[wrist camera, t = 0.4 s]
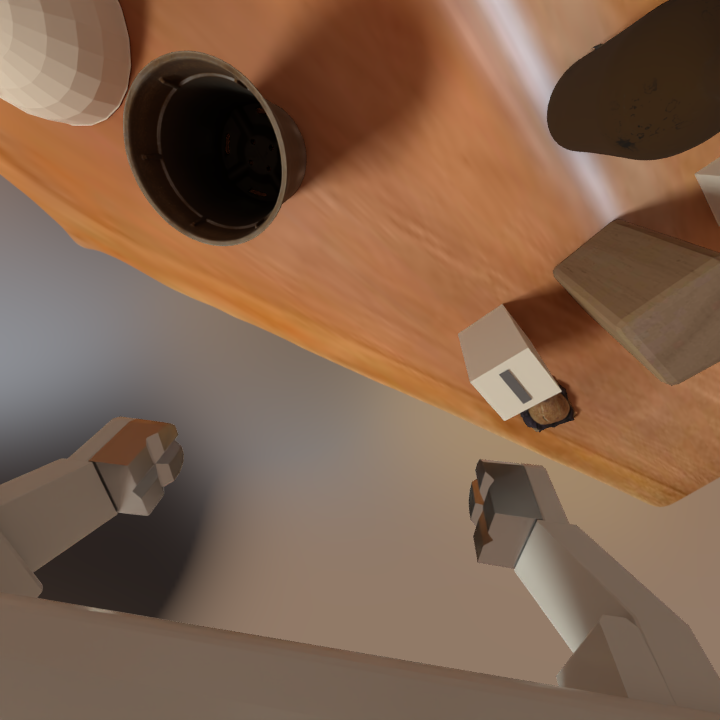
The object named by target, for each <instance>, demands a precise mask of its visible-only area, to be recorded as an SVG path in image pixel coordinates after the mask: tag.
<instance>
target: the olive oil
mask: <svg viewBox="0 0 720 720" xmlns="http://www.w3.org/2000/svg"><path fill="white" fill-rule="evenodd" d="M594 47H595V50H594V51H592V52H591V53H589V54H588V55H586V56H584V57H583V58H581V59H580V60H578V61H577V62H576V63H574V64H573V65H572V66H571V67H570V68H569V69H568V70H567V71H566V72H565V73H564V74H563V76H562V77H561V78H560V80H559V81H558V83H557V84H556V86H555V88H554V90H553V92H552V95H551V97H550V101H549V104H548V110H547V122H548V128H549V131H550V133H551V135H552V137H553V139H554V140H555V141H556V142H557V143H558V144H559V145H560V146H562V147H564V148H566V149H568V150H572V151H579V152H590V153H598V154H604V155H611V156H617V157H623V158H628V159H635V160H656V159H662V158H667V157H670V156H674V155H677V154H679V153H682V152H684V151H687V150H689V149H691V148H693V147H695V146H697V145H699V144H701V143H703V142H705V141H706V140H708V139H710V138H711V137H713V136H714V135H716V134H717V133H719V132H720V0H669V1H667V2H665V3H663V4H661V5H660V6H658V7H657V8H655V9H654V10H652V11H651V12H649V13H648V14H646V15H645V16H644V17H642V18H641V19H639V20H638V21H636V22H635V23H634V24H632V25H631V26H629V27H628V28H626V29H625V30H624V31H622V32H621V33H619V34H618V35H616V36H615V37H613V38H612V39H610V40H609V41H607V42H606V43H604V44H599V45H597V46H594ZM594 47H593V48H594Z"/></svg>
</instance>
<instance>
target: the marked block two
mask: <svg viewBox="0 0 720 720" xmlns="http://www.w3.org/2000/svg"><path fill="white" fill-rule="evenodd" d="M695 176H696V178H697V181H698V183H699V185H700V187H701V189H702V191H703V193H704V196H705V198H706V200H707V202H708V204H709V206H710V208H711V210H712V213H713V215H714V217H715V219H716V221H717V223H718V225H719V226H720V157H719V158H717V159H716V160H714V161H713V162H711V163H710V164H708V165H707V166H706V167H704V168H703V169H701V170H700V171H698V172H697V173H695Z"/></svg>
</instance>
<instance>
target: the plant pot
mask: <svg viewBox="0 0 720 720" xmlns="http://www.w3.org/2000/svg"><path fill="white" fill-rule="evenodd" d="M257 108H261V109H264V110H265V112H266V114H267V115H263V114H258V113H257ZM123 130H124V142H125V149H126V154H127V158H128V161H129V164H130V167H131V170H132V172H133V175H134V177H135V179H136V181H137V183H138V185H139V187H140V189H141V191H142V192H143V194H144V196H145V197H146V199H147V200H148V201H149V203H150V204H151V205H152V207H153V208H154V209H155V210H156V211H157V213H158V214H159V215H160V216H161V217H162V218H163V219H164V220H165V221H166V222H167V223H169V224H170V225H171V226H172V227H174V228H175V229H176V230H178V231H179V232H181V233H182V234H184V235H186V236H188V237H190V238H192V239H194V240H197V241H199V242H202V243H205V244H210V245H216V246H231V245H238V244H241V243H244V242H247V241H249V240H251V239H253V238H255V237H256V236H258V235H259V234H260V233H262V232H263V231H264V230H265V229H266V228H267V227H268V226H269V225H270V224H271V222H272V221H273V220H274V218H275V217H276V215H277V213H278V212H279V210H280V208H281V205H282V204H283V203H284V202H285V201H286V200H287V199H289V198H290V197H291V196H292V195H293V194H294V193H295V192H296V191H297V190H298V188H299V186H300V185H301V183H302V180H303V177H304V174H305V169H306V149H305V144H304V140H303V137H302V135H301V133H300V131H299V129H298V127H297V126H296V124H295V122H294V121H293V119H292V118H291V117H290V116H289V115H288V114H287V113H286V112H285V111H284V110H283V109H281V108H280V107H278V106H277V105H275V104H273V103H271V102H270V101H268V100H266V99H265V98H263V96H262V95H261V93H260V92H259V91H258V89H257V88H256V87H255V86H254V85H253V84H252V83H251V82H250V81H249V80H248V79H247V78H246V77H245V76H244V75H243V74H242V73H241V72H239V71H238V70H237V69H235V68H234V67H232V66H231V65H230V64H228V63H226V62H224V61H223V60H221V59H218V58H216V57H214V56H211V55H208V54H205V53H201V52H196V51H178V52H171V53H168V54H165V55H163V56H160V57H159V58H157V59H155V60H153V61H151V62H150V63H149V64H148V65H146V66H145V67H144V68H143V69H142V70H141V71H140V73H139V74H138V75H137V77H136V78H135V80H134V82H133V83H132V85H131V87H130V90H129V92H128V95H127V98H126V102H125V107H124V113H123ZM227 134H229V135H230V142H229V151H230V154H229V155H227V154H226V151H225V143H226V136H227ZM251 139H254V140H255V145H253V144H251ZM270 145H272V146H273V147H274V149H273V151H271V150H270V149H269V146H270ZM249 160H252V161H253V165H250V164H249ZM267 166H270V167H271V171H268V170H267ZM250 189H254V191H255V190H256V191H259V192H262V193H266V194H267V196H265V197H263V196H259V195H255V194H253V193H251V192H250Z"/></svg>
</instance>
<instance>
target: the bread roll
mask: <svg viewBox="0 0 720 720" xmlns="http://www.w3.org/2000/svg"><path fill="white" fill-rule="evenodd" d="M553 378H554V377H553ZM555 381H556V380H555ZM556 383H557V381H556ZM557 384H558V383H557ZM558 386H559V387H560V389H561V391H562V392H560V393H558V394H556V395H554V396H552V397H550V398H548V399H546V400H544V401H542V402H540V403H538V404H536V405H535V406H533V407H531V408H529V409H527V410H525V411H523V412H521V413H520V415H521V417H522V418H523V420H524V422H525V424H526V425H527V426H528V427H532V428H533V429H534V430H535V431H537V432H538V431H539V432H541V430H544V429H546V428H549V427H556V426H557V425H559V424H563V423H566V422H569V421H572V420H574V417H575V412H574V410H573V408H572V405H571V403H570V401H569V399H568V397H567V393H566V389H565V388H563V387H562V386H561V385H559V384H558Z"/></svg>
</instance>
